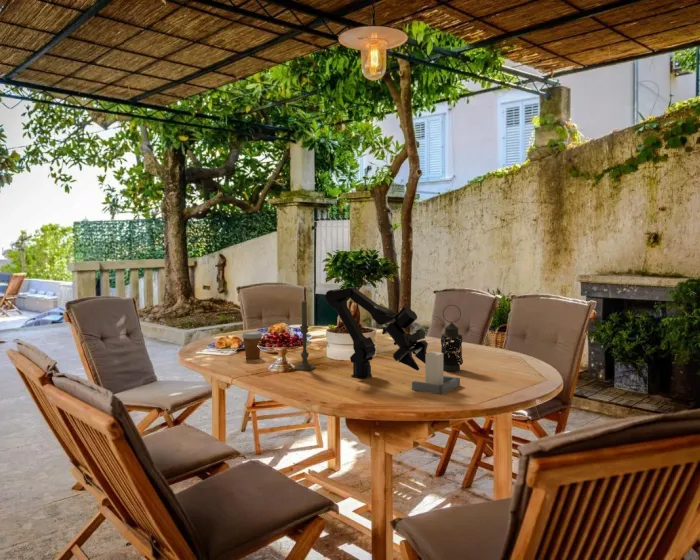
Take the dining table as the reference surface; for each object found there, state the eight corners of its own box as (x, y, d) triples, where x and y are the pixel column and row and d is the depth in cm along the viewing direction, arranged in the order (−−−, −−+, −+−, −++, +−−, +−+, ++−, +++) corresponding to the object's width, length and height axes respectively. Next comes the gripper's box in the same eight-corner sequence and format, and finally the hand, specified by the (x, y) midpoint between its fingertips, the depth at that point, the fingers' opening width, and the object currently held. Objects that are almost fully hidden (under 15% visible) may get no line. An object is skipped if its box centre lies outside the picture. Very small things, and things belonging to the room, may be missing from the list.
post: (425, 387, 224) (425, 353, 223) (431, 385, 228) (431, 351, 227) (437, 389, 221) (437, 355, 220) (443, 386, 226) (443, 353, 225)
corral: (412, 389, 222) (412, 381, 222) (430, 381, 234) (430, 373, 234) (442, 394, 215) (442, 386, 214) (459, 385, 227) (459, 378, 227)
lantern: (463, 368, 256) (464, 303, 254) (462, 373, 248) (462, 306, 246) (441, 367, 259) (441, 303, 257) (438, 371, 250) (438, 305, 248)
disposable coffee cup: (239, 357, 283) (238, 332, 282) (257, 354, 289) (256, 330, 288) (248, 360, 276) (247, 335, 275) (266, 358, 281) (266, 332, 280)
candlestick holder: (302, 365, 265) (301, 298, 263) (319, 367, 261) (318, 299, 258) (290, 369, 258) (289, 300, 255) (307, 371, 253) (306, 301, 251)
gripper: (400, 325, 221) (426, 359, 215) (424, 319, 236) (448, 350, 231) (382, 344, 226) (407, 377, 220) (406, 337, 241) (430, 367, 236)
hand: (424, 367), depth 227 cm, fingers open, 9 cm apart
